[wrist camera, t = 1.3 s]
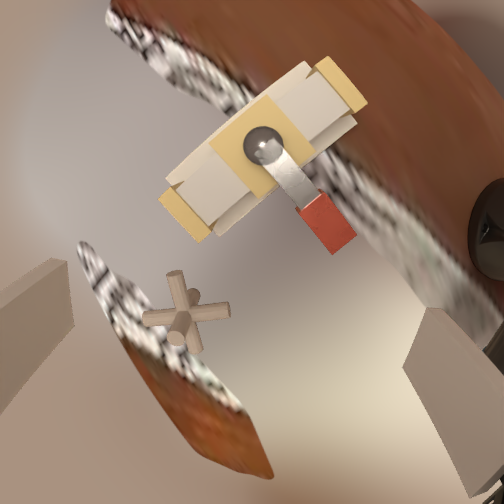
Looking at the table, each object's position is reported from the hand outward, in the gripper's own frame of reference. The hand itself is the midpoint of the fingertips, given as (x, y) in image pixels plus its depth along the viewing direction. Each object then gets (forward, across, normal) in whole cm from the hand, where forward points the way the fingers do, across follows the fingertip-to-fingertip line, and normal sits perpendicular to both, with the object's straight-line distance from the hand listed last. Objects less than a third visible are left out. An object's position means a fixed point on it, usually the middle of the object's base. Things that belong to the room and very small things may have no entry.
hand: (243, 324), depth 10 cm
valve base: (+27, 0, +6) cm, 27 cm away
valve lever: (+17, +3, +3) cm, 17 cm away
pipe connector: (+27, -6, -13) cm, 30 cm away
